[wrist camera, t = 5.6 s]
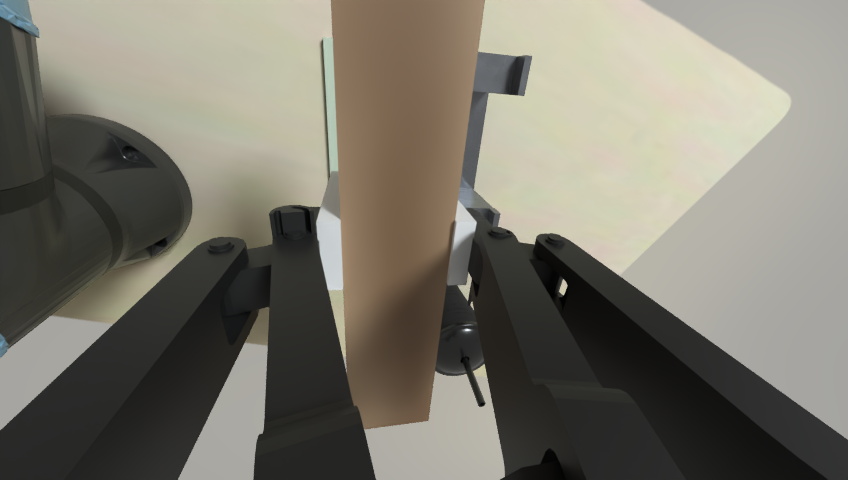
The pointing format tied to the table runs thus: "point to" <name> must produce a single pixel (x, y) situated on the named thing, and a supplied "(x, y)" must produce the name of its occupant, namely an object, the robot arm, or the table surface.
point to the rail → (399, 188)
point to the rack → (489, 78)
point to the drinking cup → (459, 340)
